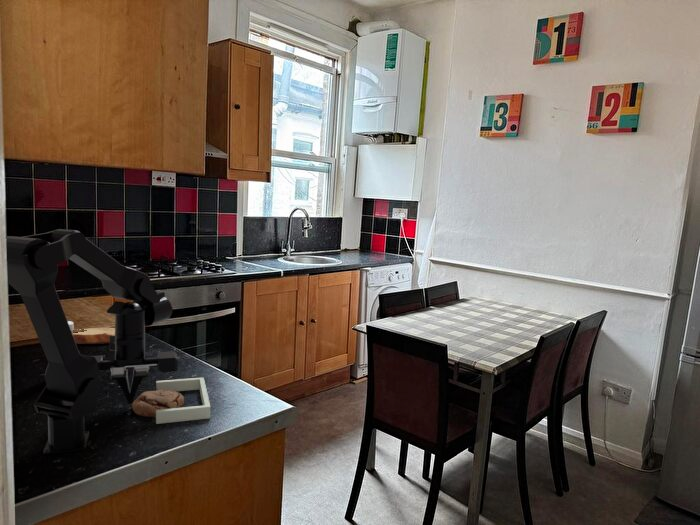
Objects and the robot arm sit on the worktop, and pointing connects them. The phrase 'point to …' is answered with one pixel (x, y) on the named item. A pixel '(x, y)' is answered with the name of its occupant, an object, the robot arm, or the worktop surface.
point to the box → (184, 412)
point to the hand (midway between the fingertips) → (130, 402)
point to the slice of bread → (94, 336)
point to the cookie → (157, 402)
